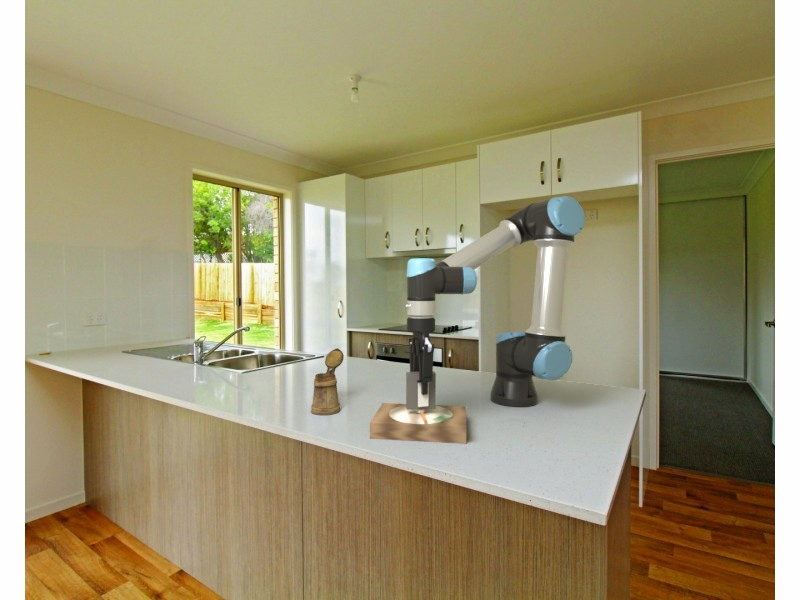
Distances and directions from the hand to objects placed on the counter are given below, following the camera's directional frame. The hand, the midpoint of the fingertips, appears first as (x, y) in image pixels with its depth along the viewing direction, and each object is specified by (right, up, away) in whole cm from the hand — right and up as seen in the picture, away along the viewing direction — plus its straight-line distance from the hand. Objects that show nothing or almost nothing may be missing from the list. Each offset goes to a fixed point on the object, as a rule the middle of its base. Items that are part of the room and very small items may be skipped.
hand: (420, 404), depth 116 cm
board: (0, -7, 0) cm, 7 cm away
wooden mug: (-27, -6, +19) cm, 34 cm away
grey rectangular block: (0, -2, -4) cm, 5 cm away
